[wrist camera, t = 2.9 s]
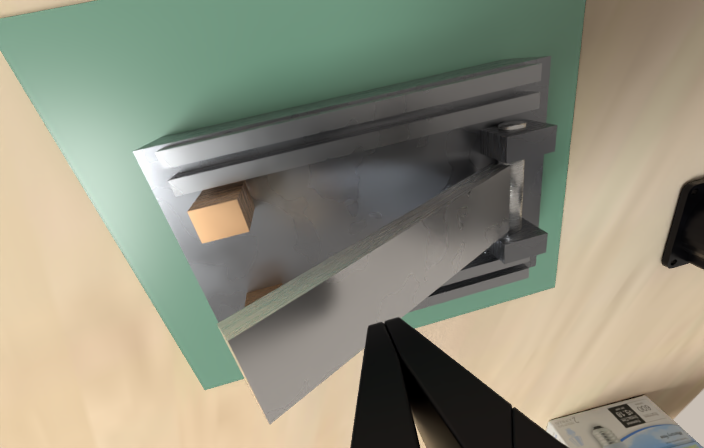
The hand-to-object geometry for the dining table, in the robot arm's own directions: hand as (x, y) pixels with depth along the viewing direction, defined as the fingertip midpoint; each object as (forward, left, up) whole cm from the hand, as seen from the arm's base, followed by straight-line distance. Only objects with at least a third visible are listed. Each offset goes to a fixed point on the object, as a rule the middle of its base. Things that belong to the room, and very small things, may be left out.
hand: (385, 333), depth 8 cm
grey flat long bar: (0, -1, -3) cm, 3 cm away
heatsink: (0, -1, -10) cm, 10 cm away
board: (0, -1, -10) cm, 10 cm away
